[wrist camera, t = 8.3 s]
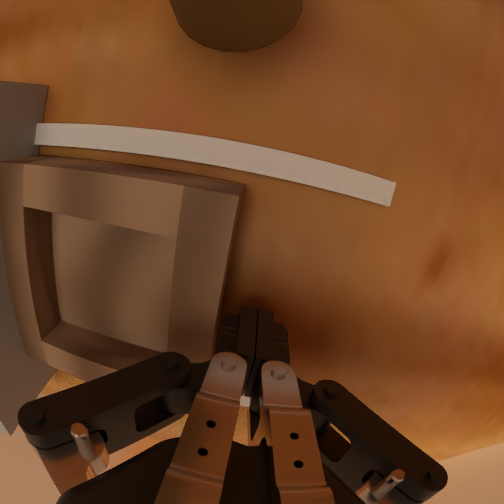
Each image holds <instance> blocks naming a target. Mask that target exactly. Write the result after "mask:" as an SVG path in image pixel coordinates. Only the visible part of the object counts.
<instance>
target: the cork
mask: <svg viewBox="0 0 504 504" xmlns="http://www.w3.org/2000/svg"><path fill="white" fill-rule="evenodd" d="M170 3H171V5H172V8H173V10H174V13H175V16H176V18H177V21H178V23H179V25H180V26H181V28H182V29H183V30H184V31H185V33H186V34H187V35H188V37H190V38H191V39H193V40H195V41H196V42H198V43H199V44H201V45H203V46H205V47H209V48H213V49H216V50H220V51H240V52H244V51H248V50H252V49H257V48H262V47H265V46H267V45H269V44H271V43H273V42H275V41H277V40H279V39H281V38H282V37H283V36H284V35H285V34H286V33H287V32H288V31H289V30H290V29H292V28H293V27H294V26H295V24H296V22H297V20H298V18H299V15H300V13H301V11H302V0H170Z"/></svg>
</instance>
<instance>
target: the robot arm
mask: <svg viewBox="0 0 504 504" xmlns="http://www.w3.org/2000/svg"><path fill="white" fill-rule="evenodd" d="M244 390H245V394H244ZM243 394H244V396H245V397H250V404H249V407H248V410H247V425H248V446H246V445H243V444H240V443H237V442H235V441H232V440H233V435H234V431H235V426H236V422H237V417H238V412H239V407H240V398H241V396H243ZM188 413H189V415H188V418H187V421H186V423H185V426H184V429H183V432H182V434H181V437H177V438H172V439H168V440H164V441H162V442H159V443H158V444H155V445H154V446H152V447H150V448H148V449H147V450H145V451H143V452H142V453H140V454H138V455H136V456H134V457H132V458H131V459H129V460H127V461H125V462H123V463H121V464H120V465H118V466H116V467H114V468H112V469H110V470H108V471H106V472H104V473H102V474H100V475H98V474H99V473H100V472H102V471H103V470H105V469H106V468H107V466H108V464H109V455H110V454H112V453H114V452H116V451H118V450H120V449H122V448H124V447H126V446H129V445H131V444H133V443H135V442H137V441H139V440H141V439H143V438H145V437H147V436H149V435H151V434H153V433H155V432H156V431H158V430H160V429H162V428H164V427H166V426H168V425H170V424H171V423H173V422H175V421H177V420H179V419H180V418H182V417H183V416H184V415H185V414H188ZM18 423H19V425H20V427H21V428H22V430H23V432H24V433H25V435H26V438H27V440H28V442H29V443H30V445H31V446H32V448H33V449H34V451H35V452H36V454H37V455H38V456H39V457H40V459H41V460H42V461H43V463H44V465H45V467H46V469H47V471H48V473H49V475H50V476H51V478H52V480H53V482H54V483H55V485H56V487H57V489H58V490H59V492H60V493H61V496H60V498H59V499H58V501H57V503H56V504H423V503H424V502H425V501H427V500H428V499H430V498H431V497H432V496H434V495H435V494H436V493H438V492H439V491H440V490H442V489H443V488H444V487H445V486H446V484H447V480H448V476H447V472H446V470H445V469H444V468H443V466H441V465H440V464H439V463H438V462H436V461H435V460H434V459H432V458H431V457H430V456H428V455H427V454H426V453H424V452H423V451H422V450H421V449H419V448H418V447H417V446H415V445H414V444H413V443H412V442H410V441H409V440H408V439H407V438H405V437H404V436H403V435H402V434H400V433H399V432H398V431H396V430H395V429H394V428H393V427H392V426H390V425H389V424H388V423H387V422H385V421H384V420H383V419H382V418H380V417H379V416H378V415H377V414H376V413H374V412H373V411H372V410H371V409H369V408H368V407H367V406H366V405H365V404H363V403H362V402H361V401H360V400H359V399H357V398H356V397H355V396H354V395H353V394H351V393H350V392H349V391H348V390H347V389H346V388H344V387H343V386H342V385H341V384H339V383H338V382H335V381H332V380H321V381H319V382H317V383H316V384H315V385H312V384H310V383H307V382H304V381H302V380H300V379H299V378H297V377H296V373H295V371H294V369H293V368H292V367H291V366H290V357H289V346H288V334H287V330H286V328H285V327H284V325H283V324H281V323H275V322H274V312H273V311H268V310H262V309H258V311H257V308H252V307H247V306H242V308H241V312H240V316H239V315H234V314H228V315H227V316H226V317H225V318H223V322H222V326H221V330H220V335H219V339H218V343H217V348H216V352H215V355H214V356H213V357H212V359H210V360H209V361H206V362H202V363H190V361H189V359H188V358H187V357H186V356H184V355H182V354H180V353H177V352H164V353H161V354H158V355H156V356H153V357H151V358H148V359H146V360H143V361H141V362H138V363H136V364H133V365H131V366H128V367H126V368H123V369H120V370H118V371H115V372H113V373H110V374H107V375H105V376H102V377H99V378H97V379H94V380H91V381H88V382H86V383H83V384H80V385H77V386H74V387H71V388H69V389H66V390H63V391H60V392H57V393H54V394H51V395H48V396H45V397H42V398H39V399H36V400H33V401H30V402H27V403H25V404H24V405H23V406H22V407H21V408H20V410H19V412H18ZM331 423H332V424H333V425H334V426H335V427H337V428H338V429H339V430H340V431H341V432H342V433H343V434H344V435H345V436H346V437H348V438H349V440H350V442H351V444H350V443H349V442H348V441H346V440H345V439H344V438H343V437H342V436H341V435H340V434H339V433H338V432H337V431H335V430H334V429H333V428H332V427H331V426H330V424H331ZM97 475H98V476H97Z"/></svg>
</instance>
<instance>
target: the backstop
mask: <svg viewBox="0 0 504 504" xmlns="http://www.w3.org/2000/svg"><path fill="white" fill-rule="evenodd" d="M47 90H48V86H46V85H38V84H29V83H19V82H7V81H0V162H2V161H6V160H11V159H16V158H21V157H26V156H31V155H39V148H40V145H53V146H68V147H80V148H92V149H102V150H112V151H121V152H129V153H137V154H145V155H153V156H160V157H167V158H173V159H180V160H186V161H192V162H198V163H204V164H210V165H216V166H221V167H227V168H232V169H237V170H242V171H247V172H252V173H257V174H262V175H267V176H271V177H276V178H280V179H285V180H289V181H293V182H298V183H302V184H306V185H310V186H314V187H318V188H322V189H326V190H330V191H334V192H338V193H342V194H346V195H349V196H353V197H357V198H360V199H364V200H367V201H371V202H374V203H378V204H381V205H384V206H388V207H390V204H391V201H392V197H393V194H394V190H395V186H396V183H395V182H393V181H390V180H387V179H384V178H381V177H377V176H374V175H371V174H368V173H364V172H361V171H358V170H354V169H351V168H347V167H344V166H340V165H337V164H333V163H329V162H326V161H322V160H318V159H314V158H310V157H306V156H302V155H298V154H294V153H289V152H285V151H281V150H276V149H272V148H267V147H262V146H257V145H252V144H247V143H242V142H237V141H231V140H225V139H220V138H214V137H207V136H201V135H194V134H187V133H180V132H172V131H164V130H156V129H146V128H136V127H125V126H112V125H95V124H70V123H42V121H43V114H44V107H45V101H46V95H47ZM56 370H57V369H56V368H54V367H52V366H49V365H47V364H45V363H43V362H41V361H39V360H37V359H35V358H33V357H31V356H29V355H27V354H26V353H25V350H24V347H23V343H22V340H21V336H20V333H19V329H18V325H17V321H16V317H15V313H14V309H13V304H12V300H11V295H10V290H9V285H8V279H7V273H6V267H5V260H4V252H3V243H2V233H1V220H0V429H1V430H2V431H4V432H5V433H7V434H8V435H10V436H11V435H12V434H13V432H14V430H15V429H16V427H17V426H18V424H19V423H18V412H19V410H20V408H21V407H22V406H23V405H24V404H25V403H27V402H30V401H33V400H35V399H36V398H37V396H38V395H39V394H40V392H41V391H42V389H43V388H44V387H45V385H46V384H47V382H48V381H49V380H50V378H51V377H52V376H53V374H54V373H55V372H56ZM244 394H245V390H244ZM244 394H243V396H241V398H240V406H245V407H249V404H250V397H245V396H244Z"/></svg>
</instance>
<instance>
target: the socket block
mask: <svg viewBox="0 0 504 504" xmlns="http://www.w3.org/2000/svg"><path fill="white" fill-rule="evenodd" d="M244 186H245V184H242V183H237V182H232V181H227V180H221V179H216V178H211V177H205V176H199V175H194V174H188V173H182V172H176V171H170V170H163V169H157V168H150V167H143V166H136V165H129V164H121V163H114V162H106V161H97V160H88V159H79V158H69V157H58V156H46V155H31V156H26V157H21V158H16V159H11V160H6V161H2V162H0V220H1V233H2V243H3V252H4V260H5V267H6V273H7V279H8V285H9V290H10V295H11V300H12V304H13V309H14V313H15V317H16V321H17V325H18V329H19V333H20V336H21V340H22V343H23V347H24V350H25V353H26V354H27V355H29V356H31V357H33V358H35V359H37V360H39V361H41V362H43V363H45V364H47V365H49V366H52V367H54V368H56V369H58V370H61V371H63V372H65V373H67V374H70V375H72V376H75V377H77V378H80V379H82V380H85V381H87V382H88V381H91V380H94V379H97V378H99V377H102V376H105V375H107V374H110V373H113V372H115V371H118V370H120V369H123V368H126V367H128V366H131V365H133V364H136V363H138V362H141V361H143V360H146V359H148V358H151V357H153V356H156V355H158V354H161V353H164V352H177V353H180V354H182V355H184V356H186V357H187V358H188V359H189V361H190V363H202V362H206V361H209V360H210V359H212V356H213V350H214V344H215V339H216V333H217V327H218V322H219V316H220V311H221V305H222V300H223V294H224V289H225V284H226V278H227V273H228V268H229V262H230V257H231V252H232V247H233V241H234V236H235V231H236V226H237V221H238V216H239V211H240V206H241V201H242V196H243V191H244Z"/></svg>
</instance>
